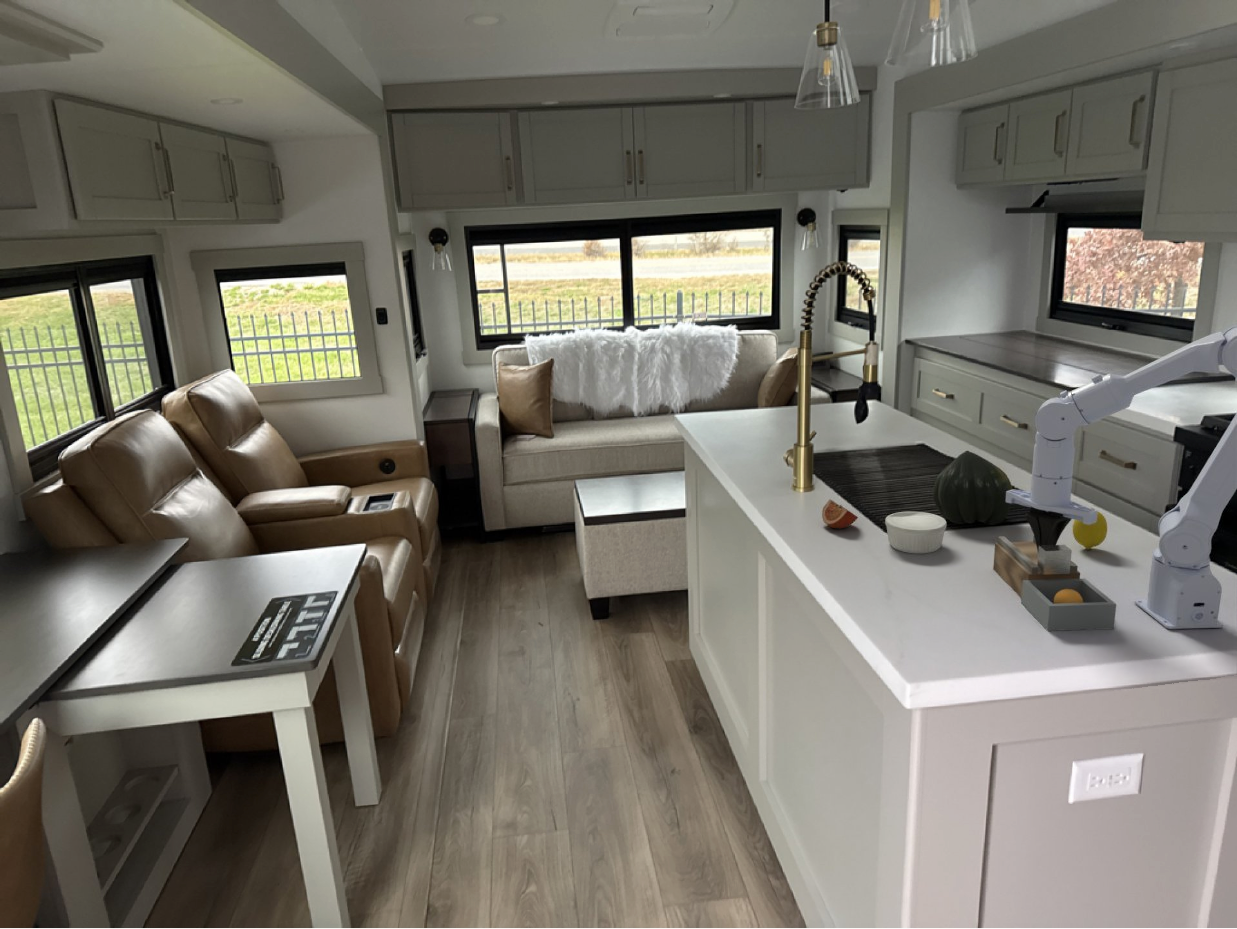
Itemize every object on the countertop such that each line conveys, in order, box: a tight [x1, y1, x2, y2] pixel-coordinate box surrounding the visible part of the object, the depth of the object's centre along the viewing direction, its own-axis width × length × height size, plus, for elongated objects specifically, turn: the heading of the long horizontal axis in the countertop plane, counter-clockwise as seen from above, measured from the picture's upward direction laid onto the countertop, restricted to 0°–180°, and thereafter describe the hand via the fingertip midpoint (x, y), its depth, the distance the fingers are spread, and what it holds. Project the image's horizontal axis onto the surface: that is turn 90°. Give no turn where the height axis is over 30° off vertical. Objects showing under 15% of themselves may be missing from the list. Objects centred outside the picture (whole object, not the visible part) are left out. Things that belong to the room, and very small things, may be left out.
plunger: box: [1037, 544, 1073, 575], centre depth 131 cm, size 2×4×4 cm, turn 87°
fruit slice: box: [821, 499, 859, 529], centre depth 172 cm, size 8×7×5 cm
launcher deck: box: [992, 535, 1081, 598], centre depth 139 cm, size 14×8×6 cm, turn 177°
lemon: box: [1072, 507, 1108, 550], centre depth 152 cm, size 6×6×8 cm
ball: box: [1054, 589, 1083, 604], centre depth 127 cm, size 4×4×4 cm
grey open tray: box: [1020, 577, 1117, 631], centre depth 128 cm, size 10×10×4 cm
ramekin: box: [884, 511, 947, 555], centre depth 159 cm, size 11×11×5 cm
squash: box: [932, 450, 1013, 526], centre depth 170 cm, size 14×15×15 cm
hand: (1045, 554), depth 134 cm, fingers closed
